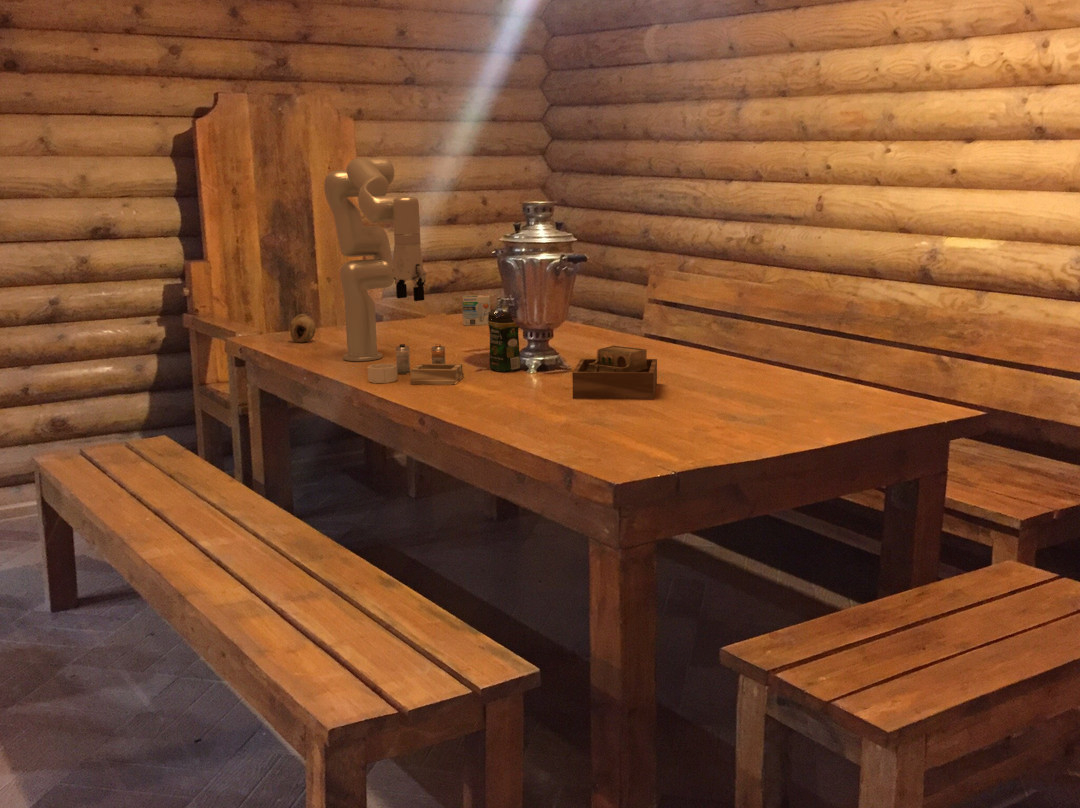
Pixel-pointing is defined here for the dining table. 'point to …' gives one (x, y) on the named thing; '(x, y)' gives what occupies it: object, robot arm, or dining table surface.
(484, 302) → the light bulb box
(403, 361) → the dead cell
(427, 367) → the tray
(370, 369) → the beige piece
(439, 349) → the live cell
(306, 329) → the tan rounded piece
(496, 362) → the coffee jar
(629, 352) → the miniature house
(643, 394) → the open brown storage box
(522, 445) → the dining table surface
